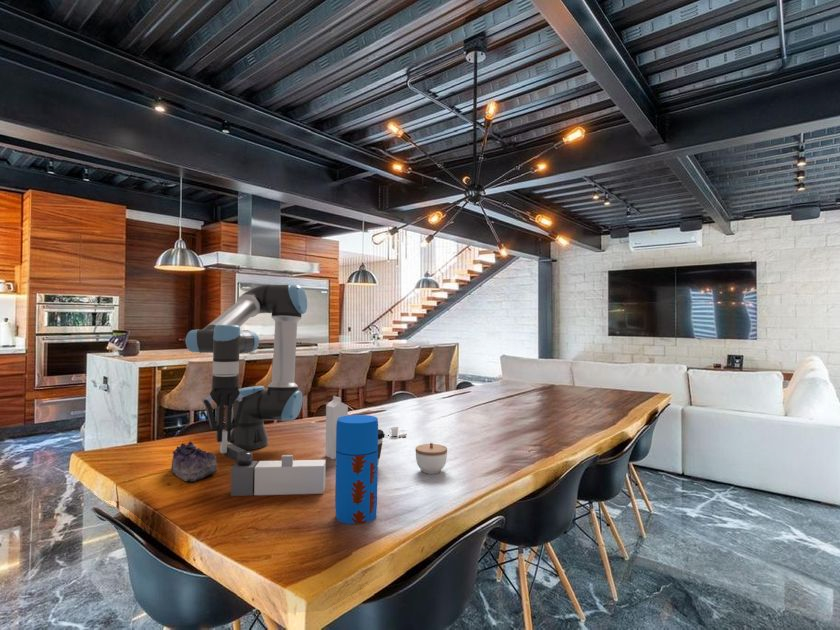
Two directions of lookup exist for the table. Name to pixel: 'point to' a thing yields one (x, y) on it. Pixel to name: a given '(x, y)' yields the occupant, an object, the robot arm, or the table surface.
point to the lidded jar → (431, 457)
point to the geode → (192, 463)
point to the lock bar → (238, 454)
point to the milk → (333, 424)
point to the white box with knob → (279, 477)
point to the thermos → (356, 468)
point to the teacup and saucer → (396, 432)
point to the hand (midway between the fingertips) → (223, 451)
